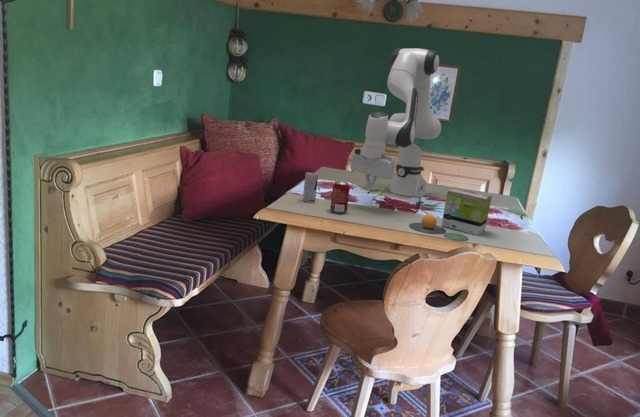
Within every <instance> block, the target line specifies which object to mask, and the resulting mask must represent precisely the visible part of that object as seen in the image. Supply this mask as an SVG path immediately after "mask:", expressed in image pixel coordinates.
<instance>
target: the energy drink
mask: <svg viewBox="0 0 640 417" xmlns="http://www.w3.org/2000/svg"><path fill="white" fill-rule="evenodd" d="M318 175H319V174H318V173H316V172H305V174H304V176H305V177H304V184H303V194H302V201H303V202H304V203H315V202H316V196H317V188H318V178H319V176H318Z"/></svg>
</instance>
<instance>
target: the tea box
mask: <svg viewBox="0 0 640 417" xmlns="http://www.w3.org/2000/svg"><path fill="white" fill-rule="evenodd" d="M492 197H493V195H491V194H486V193H482V192H477V191H473V190H467V189H464V188H459V187H454V188H452V189H450V190H447V195H446V199H445V205H444V210H443V215H442V219H441V221H442V222H441V227H443V228H449V229H453V230H457V231H461V232H464V233H468V234H472V235H475V236H479V235H480V234H482V233H484V232H485V231H486V227H487V222H488V217H489V213H490V208H491V203H492Z"/></svg>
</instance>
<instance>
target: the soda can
mask: <svg viewBox="0 0 640 417" xmlns="http://www.w3.org/2000/svg"><path fill="white" fill-rule="evenodd" d="M331 189H332V191H331V198H330V208H329V209H330V211H331V212H332V213H335V214H339V213H342V214H345V213H348V212H347V211H348V205H349V196H350V189H351V188H350V186H349V182H347V181H340V180H338V181H334V184H333V185H332V188H331Z"/></svg>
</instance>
